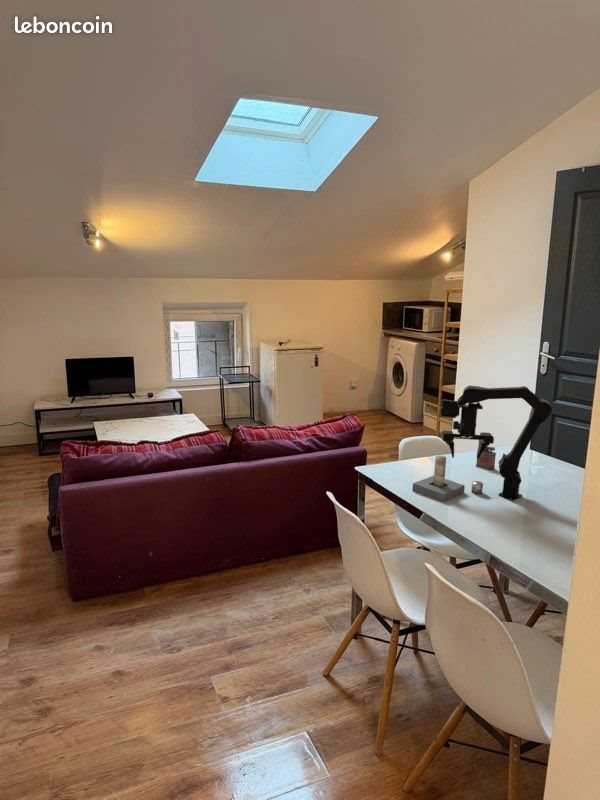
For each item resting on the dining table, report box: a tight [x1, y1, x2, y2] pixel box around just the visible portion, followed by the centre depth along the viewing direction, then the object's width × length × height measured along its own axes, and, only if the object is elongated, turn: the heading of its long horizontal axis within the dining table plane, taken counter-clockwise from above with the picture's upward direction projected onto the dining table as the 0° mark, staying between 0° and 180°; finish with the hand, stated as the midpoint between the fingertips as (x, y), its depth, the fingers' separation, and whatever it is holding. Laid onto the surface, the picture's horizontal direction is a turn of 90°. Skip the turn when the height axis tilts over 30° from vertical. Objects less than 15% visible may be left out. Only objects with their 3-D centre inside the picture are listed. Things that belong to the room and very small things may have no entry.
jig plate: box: [411, 475, 466, 502], centre depth 203 cm, size 14×14×3 cm
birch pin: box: [433, 455, 447, 488], centre depth 202 cm, size 4×4×14 cm
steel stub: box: [471, 480, 484, 496], centre depth 203 cm, size 4×4×4 cm
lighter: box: [475, 445, 497, 471], centre depth 230 cm, size 8×3×10 cm, turn 55°
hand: (465, 458), depth 203 cm, fingers open, 9 cm apart
